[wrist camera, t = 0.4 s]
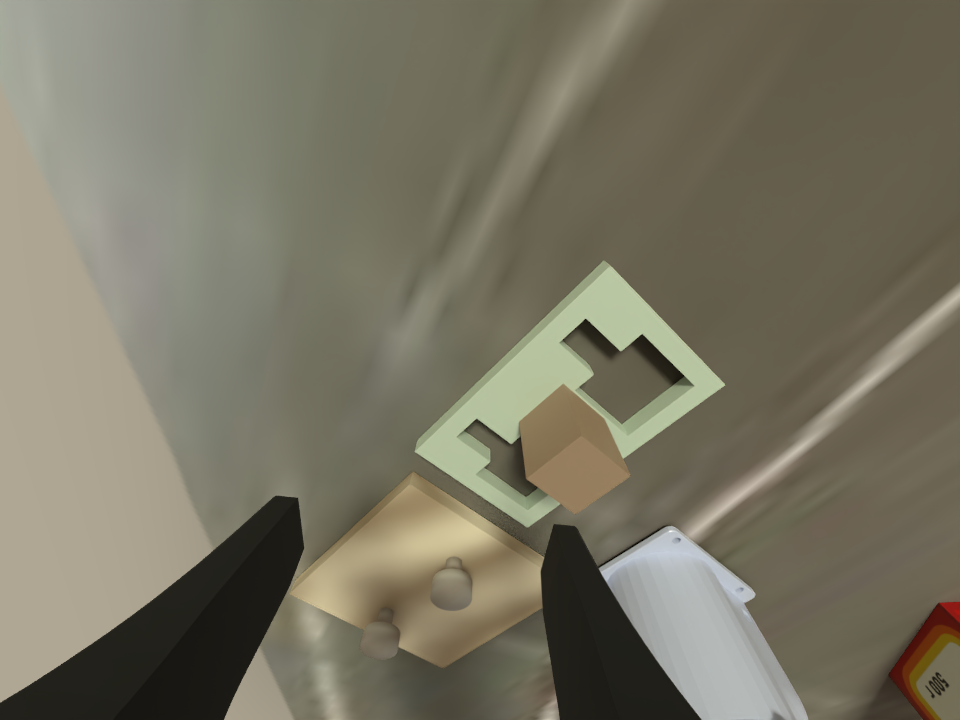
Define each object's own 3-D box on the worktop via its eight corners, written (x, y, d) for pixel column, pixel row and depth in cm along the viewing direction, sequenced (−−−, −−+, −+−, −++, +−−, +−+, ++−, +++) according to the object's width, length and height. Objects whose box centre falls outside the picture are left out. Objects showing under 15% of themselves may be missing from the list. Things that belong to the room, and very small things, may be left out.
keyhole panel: (714, 374, 19) (782, 438, 15) (525, 514, 24) (535, 594, 19) (603, 260, 17) (645, 294, 12) (417, 439, 21) (399, 511, 17)
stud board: (570, 574, 26) (580, 626, 23) (444, 653, 31) (439, 705, 28) (412, 471, 22) (401, 517, 20) (295, 579, 27) (272, 630, 24)
